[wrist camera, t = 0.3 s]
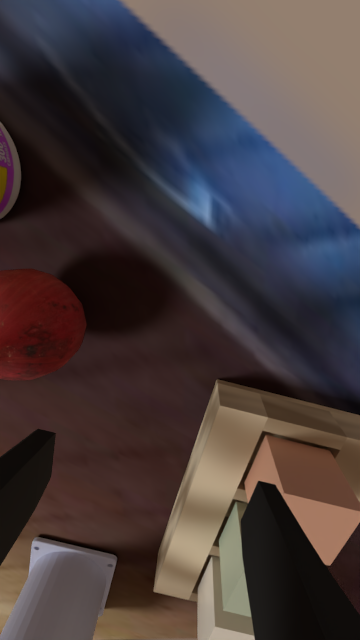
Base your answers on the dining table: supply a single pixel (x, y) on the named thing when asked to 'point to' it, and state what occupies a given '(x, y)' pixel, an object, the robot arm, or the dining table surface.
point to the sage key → (233, 565)
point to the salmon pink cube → (309, 491)
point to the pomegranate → (37, 324)
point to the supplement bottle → (8, 172)
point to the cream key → (218, 610)
